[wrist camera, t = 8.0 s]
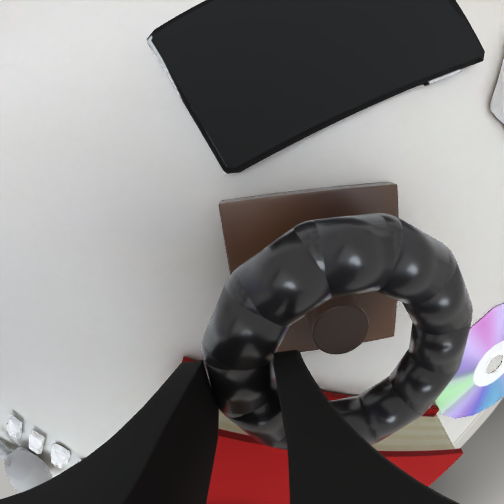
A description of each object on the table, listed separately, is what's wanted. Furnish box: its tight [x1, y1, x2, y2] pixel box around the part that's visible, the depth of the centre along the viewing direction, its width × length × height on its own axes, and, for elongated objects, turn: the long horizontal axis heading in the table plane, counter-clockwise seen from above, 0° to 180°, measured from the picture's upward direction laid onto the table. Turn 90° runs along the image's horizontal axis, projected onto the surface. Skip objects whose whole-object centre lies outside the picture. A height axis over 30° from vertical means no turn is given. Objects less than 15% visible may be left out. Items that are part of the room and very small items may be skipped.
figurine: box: [0, 443, 52, 492], centre depth 21 cm, size 8×5×12 cm
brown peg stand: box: [219, 182, 398, 354], centre depth 13 cm, size 8×8×6 cm
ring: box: [202, 213, 473, 450], centre depth 9 cm, size 8×8×2 cm
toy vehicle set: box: [7, 414, 81, 468], centre depth 21 cm, size 12×4×2 cm, turn 57°
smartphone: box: [147, 0, 485, 174], centre depth 11 cm, size 8×1×15 cm
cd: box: [435, 303, 504, 418], centre depth 18 cm, size 11×11×1 cm
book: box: [182, 357, 463, 504], centre depth 17 cm, size 18×13×5 cm
